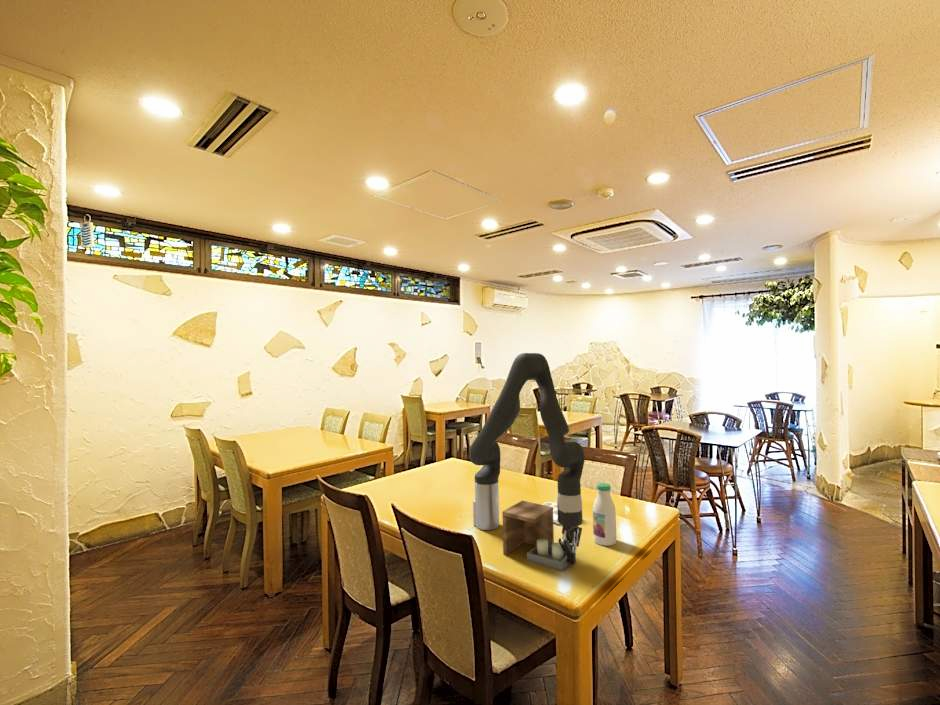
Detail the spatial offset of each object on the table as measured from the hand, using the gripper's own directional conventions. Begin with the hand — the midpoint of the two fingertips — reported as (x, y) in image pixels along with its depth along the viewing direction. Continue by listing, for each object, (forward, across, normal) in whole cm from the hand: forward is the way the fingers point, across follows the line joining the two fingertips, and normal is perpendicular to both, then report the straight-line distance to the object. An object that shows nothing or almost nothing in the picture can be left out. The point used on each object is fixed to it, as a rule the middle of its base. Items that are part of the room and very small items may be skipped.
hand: (571, 563), depth 130 cm
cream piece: (0, 0, -4) cm, 5 cm away
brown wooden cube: (+1, -1, -16) cm, 16 cm away
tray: (+1, 0, -7) cm, 7 cm away
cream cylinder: (0, 0, -10) cm, 10 cm away
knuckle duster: (+1, -35, -21) cm, 41 cm away
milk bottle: (+1, -23, +2) cm, 23 cm away
